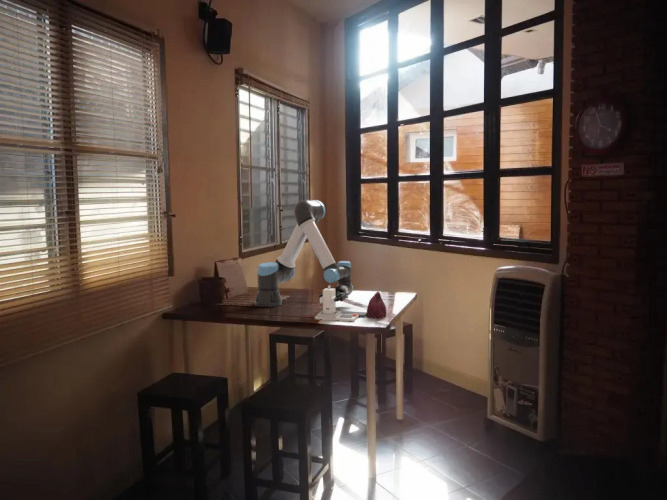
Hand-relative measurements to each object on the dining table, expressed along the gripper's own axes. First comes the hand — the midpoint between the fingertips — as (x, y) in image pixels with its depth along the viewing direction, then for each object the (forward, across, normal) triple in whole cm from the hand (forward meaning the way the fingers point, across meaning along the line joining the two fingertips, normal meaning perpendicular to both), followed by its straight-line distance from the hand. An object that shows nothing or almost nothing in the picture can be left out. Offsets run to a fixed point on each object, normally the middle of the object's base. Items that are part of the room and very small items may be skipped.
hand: (326, 300), depth 252 cm
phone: (-14, -10, -10) cm, 20 cm away
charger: (-5, 0, -7) cm, 9 cm away
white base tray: (-5, -4, -10) cm, 12 cm away
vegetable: (-15, -22, -10) cm, 29 cm away
